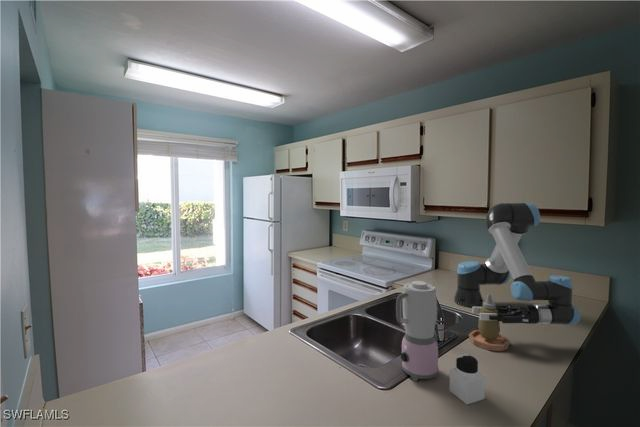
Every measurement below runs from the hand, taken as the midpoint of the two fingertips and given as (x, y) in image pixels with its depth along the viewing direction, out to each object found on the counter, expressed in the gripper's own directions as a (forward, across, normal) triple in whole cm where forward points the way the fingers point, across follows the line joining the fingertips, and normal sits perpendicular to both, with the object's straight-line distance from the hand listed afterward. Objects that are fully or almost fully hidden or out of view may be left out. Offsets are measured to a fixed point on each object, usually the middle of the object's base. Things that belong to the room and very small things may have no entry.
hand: (476, 313), depth 126 cm
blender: (+30, -24, -13) cm, 40 cm away
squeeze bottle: (-5, 0, -10) cm, 11 cm away
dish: (-5, 0, -12) cm, 13 cm away
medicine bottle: (+17, -35, -13) cm, 41 cm away
